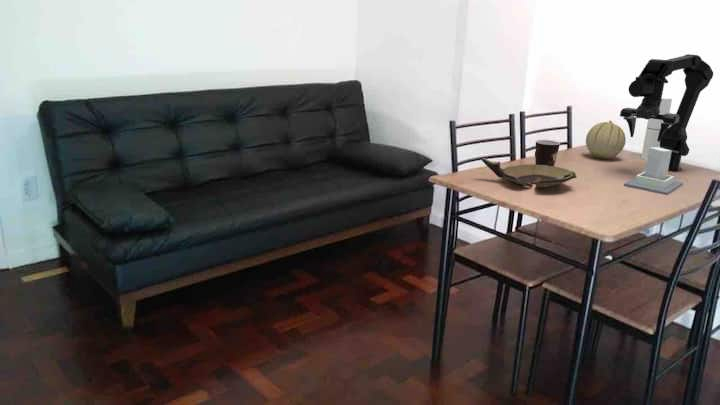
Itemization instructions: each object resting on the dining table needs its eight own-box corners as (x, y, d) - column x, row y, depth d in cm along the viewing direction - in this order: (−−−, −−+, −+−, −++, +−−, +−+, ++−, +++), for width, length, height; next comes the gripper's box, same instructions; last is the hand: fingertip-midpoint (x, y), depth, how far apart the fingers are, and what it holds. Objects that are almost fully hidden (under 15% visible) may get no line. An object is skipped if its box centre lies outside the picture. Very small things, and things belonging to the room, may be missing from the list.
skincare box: (665, 184, 208) (672, 150, 204) (656, 185, 206) (663, 151, 203) (651, 180, 213) (658, 146, 210) (642, 180, 212) (648, 147, 208)
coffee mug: (547, 165, 232) (550, 139, 228) (561, 171, 224) (564, 144, 221) (520, 166, 228) (524, 140, 225) (534, 172, 220) (537, 145, 217)
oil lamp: (561, 200, 190) (565, 176, 187) (473, 182, 206) (475, 160, 203) (581, 185, 207) (585, 163, 205) (499, 169, 223) (501, 148, 221)
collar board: (641, 176, 221) (643, 167, 220) (682, 184, 212) (684, 175, 211) (623, 185, 208) (625, 176, 207) (667, 194, 199) (669, 185, 198)
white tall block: (637, 156, 252) (648, 95, 244) (653, 156, 252) (665, 96, 245) (647, 160, 245) (659, 98, 237) (663, 160, 246) (676, 98, 238)
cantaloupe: (584, 160, 242) (589, 122, 237) (582, 152, 255) (588, 116, 251) (623, 164, 238) (630, 126, 233) (620, 156, 251) (626, 120, 247)
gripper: (618, 94, 215) (610, 137, 220) (674, 101, 204) (665, 146, 208) (629, 92, 223) (621, 134, 228) (683, 98, 212) (674, 142, 216)
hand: (644, 139), depth 220 cm, fingers open, 9 cm apart
